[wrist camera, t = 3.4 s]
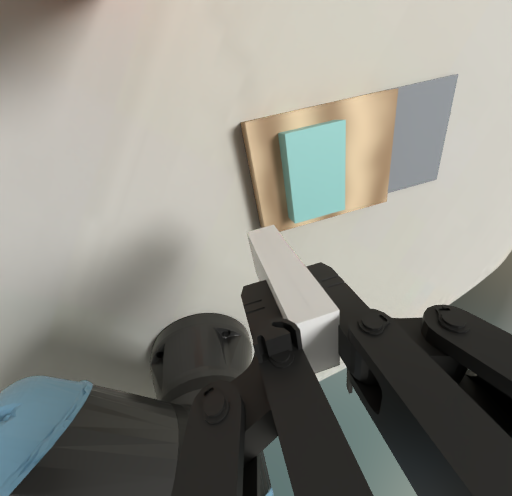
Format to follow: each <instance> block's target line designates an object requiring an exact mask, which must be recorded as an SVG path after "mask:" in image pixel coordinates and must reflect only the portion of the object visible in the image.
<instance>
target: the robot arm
mask: <svg viewBox="0 0 512 496" xmlns="http://www.w3.org/2000/svg"><path fill="white" fill-rule="evenodd" d="M247 235H248V239H249V244H250V248H251V252H252V257H253V261H254V265H255V270H256V273H257V276H258V278H259V281H260V282H257V283H253V284H250V285H247V286H244V287H243V290H242V294H241V298H242V302H243V305H244V309H245V313H246V316H247V320H248V324H249V328H250V331H251V335H252V339H253V346H254V349H255V352H254V357H253V360H252V362H251V359H252V346H251V342H250V338H249V334H248V332H247V330H246V328H245V327H244V326H243V325H242V324H241V323H240V322H238V321H237V320H235V319H233V318H231V317H228V316H225V315H221V314H198V315H193V316H189V317H186V318H183V319H180V320H178V321H176V322H174V323H173V324H171V325H170V326H168V327H167V328H166V329H164V330H163V331H162V332H161V333H160V334H159V336H158V337H157V339H156V340H155V342H154V345H153V348H152V354H151V360H150V370H151V374H152V379H153V384H154V388H155V393H156V397H157V399H152V398H148V397H144V396H139V395H135V394H131V393H126V392H122V391H118V390H113V389H109V388H105V387H100V386H96V385H93V384H92V383H91V382H89V381H87V380H82V381H79V382H77V381H71V380H65V379H59V378H53V377H48V376H31V377H27V378H24V379H21V380H19V381H17V382H15V383H13V384H11V385H10V386H8V387H7V388H5V389H4V390H3V391H2V392H1V393H0V496H273V490H272V487H271V484H270V480H269V475H268V471H267V467H266V462H265V457H264V453H263V450H264V448H266V447H267V446H268V445H269V444H270V443H271V442H272V441H273V440H274V439H275V438H276V437H277V436H279V440H280V444H281V448H282V452H283V455H284V459H285V463H286V466H287V470H288V474H289V478H290V481H291V485H292V489H293V492H294V496H373V494H372V492H371V490H370V488H369V486H368V484H367V481H366V479H365V477H364V475H363V473H362V471H361V469H360V467H359V465H358V463H357V461H356V459H355V457H354V454H353V452H352V450H351V448H350V446H349V444H348V442H347V440H346V438H345V436H344V434H343V432H342V429H341V428H340V425H339V423H338V421H337V419H336V417H335V415H334V413H333V411H332V409H331V407H330V405H329V403H328V400H327V398H326V396H325V394H324V392H323V390H322V388H321V386H320V384H319V382H318V380H317V377H316V375H315V373H318V372H321V371H324V370H327V369H329V368H332V367H335V366H338V365H340V357H341V358H342V360H343V362H344V363H345V365H346V367H347V389H348V392H349V393H352V386H353V387H354V389H355V391H356V393H357V394H358V396H359V398H360V400H361V401H362V403H363V405H364V406H365V408H366V410H367V411H368V413H369V415H370V416H371V418H372V420H373V421H374V423H375V425H376V426H377V428H378V430H379V431H380V433H381V435H382V436H383V438H384V440H385V442H386V443H387V445H388V447H389V448H390V450H391V452H392V453H393V455H394V457H395V458H396V460H397V462H398V463H399V465H400V467H401V469H402V470H403V472H404V473H405V475H406V477H407V478H408V480H409V482H410V484H411V485H412V487H413V489H414V490H415V492H416V494H417V495H418V496H512V335H511V334H510V333H508V332H506V331H504V330H502V329H500V328H498V327H496V326H494V325H492V324H490V323H488V322H486V321H484V320H482V319H481V318H479V317H477V316H475V315H473V314H471V313H469V312H467V311H464V310H462V309H460V308H457V307H454V306H448V305H434V306H432V307H429V308H427V310H426V311H425V312H424V315H423V318H391V317H389V316H388V315H387V314H385V313H384V312H381V311H378V310H376V309H370V308H369V307H368V306H367V305H366V304H365V303H364V302H363V301H362V300H361V299H360V298H359V297H358V296H357V294H356V293H355V292H354V291H353V290H352V289H351V288H350V287H349V286H348V285H347V284H346V283H344V281H343V280H342V278H341V277H340V276H338V274H337V273H336V272H335V271H334V270H333V269H332V268H331V267H329V266H327V265H325V264H323V263H321V262H320V263H317V264H314V265H310V266H307V267H306V266H305V265H304V263H303V262H302V261H301V259H300V258H299V257H298V255H297V254H296V253H295V252H294V250H293V249H292V248H291V246H290V245H289V244H288V243H287V241H286V240H285V239H284V237H283V236H282V235H281V233H280V232H279V231H278V230H277V228H276V227H275V226H274V225H271V226H267V227H263V228H260V229H256V230H253V231H249V232H247ZM470 370H471V371H470Z"/></svg>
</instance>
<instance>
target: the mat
mask: <svg viewBox="0 0 512 496" xmlns="http://www.w3.org/2000/svg"><path fill="white" fill-rule="evenodd" d="M457 78H458V74H455V75H451V76H446V77H442V78H437V79H433V80H429V81H424V82H420V83H415V84H411V85H406V86H402V87H397V88H398V97H397V107H396V117H395V126H394V136H393V146H392V155H391V165H390V174H389V184H388V193H390V192H393V191H397V190H401V189H404V188H408V187H411V186H415V185H419V184H422V183H426V182H429V181H433V180H436V179H437V174H438V170H439V165H440V160H441V155H442V150H443V145H444V141H445V136H446V131H447V126H448V121H449V117H450V112H451V107H452V102H453V97H454V92H455V88H456V83H457ZM393 89H396V88H393ZM388 90H390V89H388Z"/></svg>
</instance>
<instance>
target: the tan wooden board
mask: <svg viewBox="0 0 512 496" xmlns="http://www.w3.org/2000/svg"><path fill="white" fill-rule="evenodd" d="M397 97H398V88H396V89H390V90H385V91H379V92H375V93H370V94H366V95H361V96H357V97H352V98H348V99H344V100H339V101H335V102H330V103H326V104H321V105H317V106H312V107H308V108H303V109H299V110H294V111H290V112H285V113H281V114H276V115H272V116H268V117H263V118H259V119H254V120H250V121H245V122H241V128H242V133H243V139H244V144H245V149H246V154H247V159H248V164H249V169H250V174H251V179H252V184H253V190H254V195H255V200H256V205H257V210H258V215H259V220H260V225H261V228H263V227H267V226H271V225H274V226H275V227H276V228H277V230H278V231H279V232H280V231H284V230H287V229H291V228H295V227H298V226H302V225H305V224H309V223H312V222H316V221H319V220H323V219H326V218H330V217H333V216H337V215H340V214H344V213H347V212H351V211H354V210H358V209H362V208H365V207H369V206H372V205H376V204H379V203H383V202H386V201H387V194H388V184H389V174H390V165H391V155H392V146H393V136H394V126H395V117H396V107H397ZM332 120H346V160H345V210H342V211H338V212H335V213H331V214H328V215H324V216H321V217H317V218H314V219H310V220H306V221H303V222H299V223H296V224H295V223H294V222H293V221H292V220H291V219H290V218H289V217H288V209H287V201H286V193H285V185H284V177H283V169H282V161H281V153H280V145H279V137H278V133H280V132H285V131H289V130H293V129H298V128H302V127H306V126H310V125H315V124H319V123H323V122H328V121H332Z"/></svg>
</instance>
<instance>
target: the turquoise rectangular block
mask: <svg viewBox="0 0 512 496" xmlns="http://www.w3.org/2000/svg"><path fill="white" fill-rule="evenodd" d="M278 137H279V145H280V153H281V161H282V169H283V177H284V185H285V193H286V201H287V209H288V217H289V218H290V219H291V220H292V221H293V222H294V223H295V224H296V223H299V222H303V221H306V220H310V219H314V218H317V217H321V216H324V215H328V214H331V213H335V212H338V211H342V210H345V160H346V120H332V121H328V122H323V123H319V124H315V125H310V126H306V127H302V128H298V129H293V130H289V131H285V132H280V133H278Z"/></svg>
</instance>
